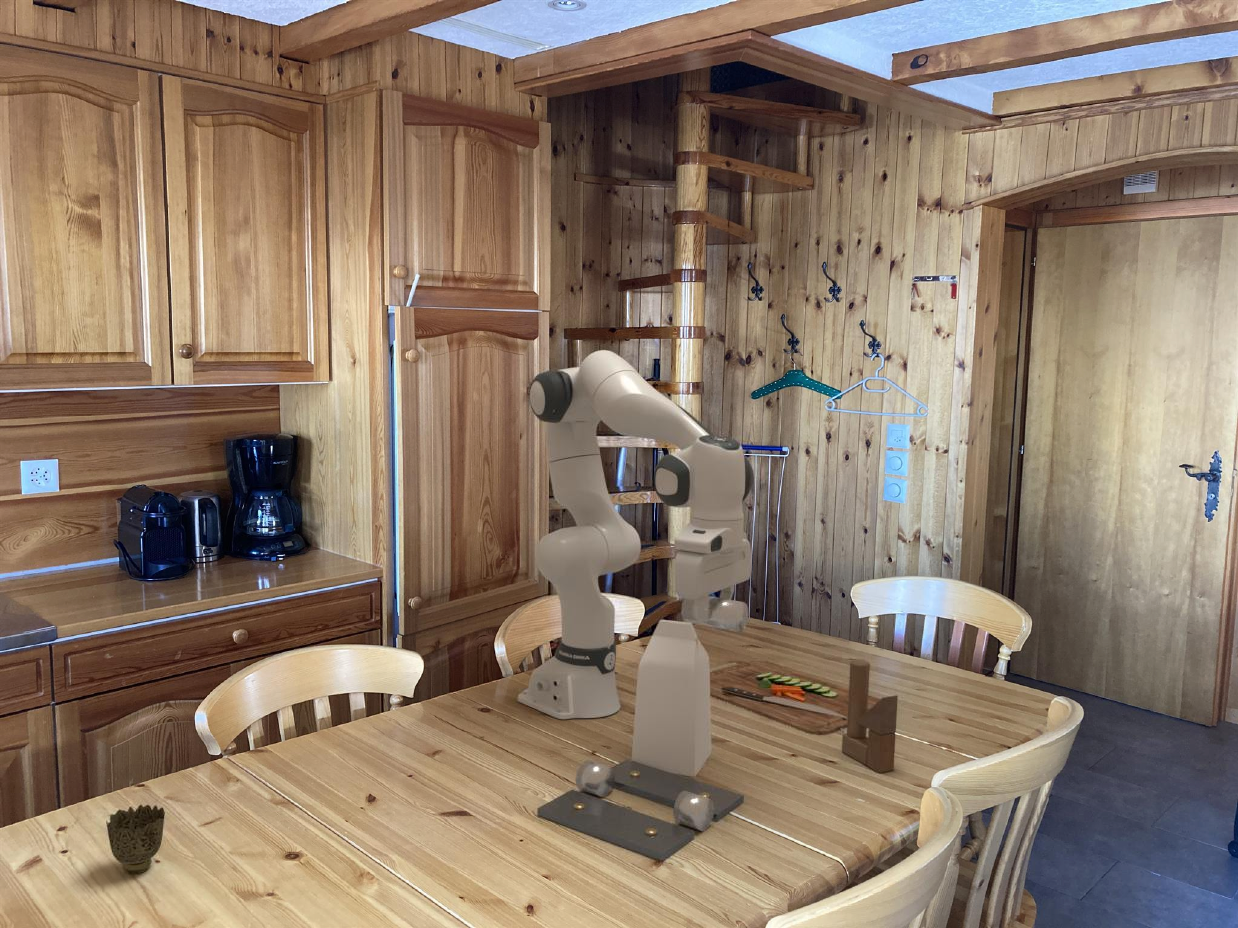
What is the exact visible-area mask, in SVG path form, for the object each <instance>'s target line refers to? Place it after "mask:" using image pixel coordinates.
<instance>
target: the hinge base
mask: <svg viewBox="0 0 1238 928" xmlns="http://www.w3.org/2000/svg"><path fill="white" fill-rule="evenodd" d="M631 760H632V759H624V760H623V761H620V762H619V763H617V764H615V765H614V766H612V767H611V766H608V765H606V764H601V763H599V762H594V761H592V760H588V759H587V760H584V761H583V762H582V763H581V764H580V765H579V767H578V769H577V772H576V775H575V785H576V787H577V789H578V790H580V791H578V790H575V789H571V790H568V791H566V792H565V793H562V794H561V795H559V796H558V797H556V798H554V799H552V800H551V801H549V802H547V803H545V804H543V805H541V806H539V807H537V808H536V809H537V812H536V814H537V817H540V818H543V819H545V820H549V821H551V822H553V823H554V822H555V823H556V824H559V825H562V826H564V827H568V828H570V829H573V830H576V831H578V832H581V833H584V834H587V835H589V836H592V837H594V838H598V839H600V840H602V841H605V842H607V843H611V844H613V845H616V846H619V847H621V848H625V849H627V850H630V851H632V852H635V853H637V854H640V855H643V856H645V857H648V858H651V859H654V860H656V861H659V862H662V863H663V862H664V861H665V860H667V859H668V858H670V857H671V856H673V855H674V854H675V853H676V852H678V851H679V850H680V849H683V847H685V846H686V845H688V843H690V842H692V840H694V839H695V830H698V831H701V832H705V831H706V830H707V829H709V827H710V825H711V824H712V821H714V822H718V821H720V820H722V819H723V818H724V817H725V816H726V815H729V813H731V812H732V811H733V810H735V809H736V808H738V807H739V806H740V805H742V804H743V803H744V801H745V799H744V798H745V795H744V794H741V793H737V792H735V791H731V790H728V789H725V788H722V787H719V786H715V785H712V784H708V783H705V782H703V781H699V780H695V779H692V778H689V777H685V776H684V775H680V774H674V773H670V772H667V771H663V770H660V769H657V768H654V767H650V766H647V765H644V764H641V763H637V762H634V761H631ZM613 788H614V789H615V790H619V791H623V792H625V793H629V794H632V795H635V796H638V797H641V798H643V799H646V800H649V801H653V802H656V803H658V804H662V805H664V806H668V807H670V808H673V809H672V810H673V812H672V813H673V819H674V821H675V823H676V824H674V823H672V822H669V821H666V820H663V819H661V818H657V817H655V816H651V815H648V814H645V813H643V812H640V811H636V810H634V809H630V808H628V807H625V806H622V805H620V804H617V803H614V802H611V801H607V800H604V799H602V798H605V797H607V796H608V795H609V794H610V793H611V791H612V789H613ZM581 791H583V792H581ZM584 792H585V793H584ZM587 793H589V794H590V795H589V794H587ZM592 795H595V796H592ZM596 796H597V797H596ZM598 797H601V798H598ZM677 823H678V824H680V825H683V826H686V827H688V828H686V827H683V826H680V825H677ZM690 828H691V829H690ZM693 829H695V830H693Z"/></svg>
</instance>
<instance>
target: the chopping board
mask: <svg viewBox="0 0 1238 928" xmlns="http://www.w3.org/2000/svg"><path fill="white" fill-rule="evenodd" d="M736 663H737V662H731V663H729V664H724V665H721V666H716V667H714V668H710V671H712V672H710V697H711V696H712V697H711V698H713V697H715V698H714V699H716V698H717V699H716V700H719V699H720V700H719V701H721V700H722V701H721V702H724V701H725V702H724V703H727V702H728V703H727V704H729V703H730V704H729V705H732V704H733V705H732V706H734V705H736V706H735V707H737V708H740V707H741V708H740V709H742V708H744V709H743V710H745V709H746V710H745V711H748V712H750V711H752V712H751V713H753V714H755V715H758V714H759V715H758V716H761V717H763V716H764V718H766V717H767V719H769V720H771V719H772V721H774V720H775V721H774V722H777V723H779V722H780V724H782V723H783V724H782V725H785V726H787V725H788V727H790V726H791V728H793V727H794V728H793V729H795V728H796V729H795V730H798V731H800V730H801V731H802V732H803V731H804V733H806V734H809V733H810V734H809V735H814V734H817V735H816V736H826V734H827V735H830V734H832V733H836V732H838V731H841V732H843V733H842V735H843V734H846V733H847V720H848V699H849V688H848V687H844V686H841V685H838V684H835V683H831V682H828V681H826V680H822V679H819V678H816V677H814V676H813V677H812V676H810V675H806V674H804V673H801V672H797V671H794V670H791V669H788V668H785V667H781V666H779V665H777V664H773V663H770V662H767V661H761V660H750V661H745V662H743V663H738V664H737V665H734V666H731V667H727V668H723V669H719V670H716V669H718V668H722V667H726V666H728V665H732V664H736ZM751 665H753V666H751ZM744 667H745V668H744ZM739 668H742V669H739ZM713 670H716V671H713ZM732 670H733V671H732ZM734 670H735V671H734ZM729 671H731V672H729ZM723 673H724V674H723ZM880 699H881V698H878V697H876V696H872V695H869V694H868V710H869V709H870V708H871V707H873V706H874V705H875V704H876V703H877V702H878V701H879V700H880Z"/></svg>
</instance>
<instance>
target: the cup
mask: <svg viewBox="0 0 1238 928" xmlns="http://www.w3.org/2000/svg"><path fill="white" fill-rule="evenodd" d="M165 813H166V812H165V809H164V807H162V806H161V807H160V808H158V805H157V804H155V805H153V807H151V805H149V804H146V805H142V804H140V805H138V807H137V808H135V810H134V808H133V807H132V806H129V808H128V811H127V810H124V809H123V810H122V809H120V808H119V809H118V810H117V811H116V812H115V814H114V813H113V814H110V815H109V822H108V820H106V822H105V823H106V828H107V829H106V830H107V836H108V841H109V846H110V851H111V853H112V855H113V857H114V859H116V861H118V862H119V863H122V868H123V870H124V872H125V873H127V872H128V873H127V874H130V873H136V874H140V873H139V872H141V873H143V872H142V871H144V870H146V869H147V870H148V869H149V868H150V867H151V865H152V863H153V859H152V858H153V857H154V856H156V854H157V853H158V852H159V850H160V849H161V844H162V840H163V836H164V835H163V834H164V825H165V816H166V814H165ZM147 870H146V871H147ZM144 872H145V871H144Z"/></svg>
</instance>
